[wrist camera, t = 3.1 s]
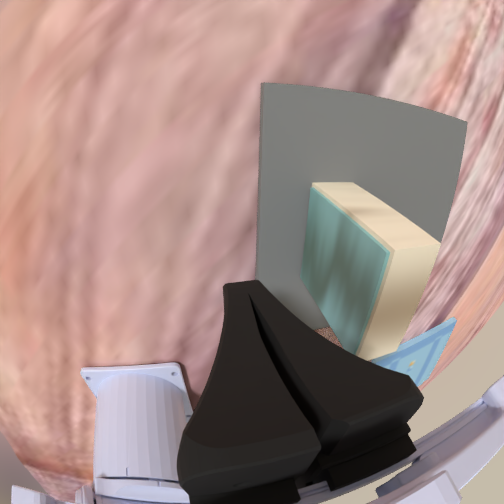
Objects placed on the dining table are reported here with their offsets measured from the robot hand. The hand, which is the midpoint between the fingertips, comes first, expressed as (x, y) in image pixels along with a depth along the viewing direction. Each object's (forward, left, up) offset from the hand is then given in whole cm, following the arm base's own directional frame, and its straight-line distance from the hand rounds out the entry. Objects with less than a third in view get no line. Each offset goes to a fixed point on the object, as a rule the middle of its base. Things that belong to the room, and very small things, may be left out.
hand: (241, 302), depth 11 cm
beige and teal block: (0, -6, -5) cm, 8 cm away
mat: (0, -9, -5) cm, 11 cm away
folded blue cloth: (-21, -21, -6) cm, 30 cm away
